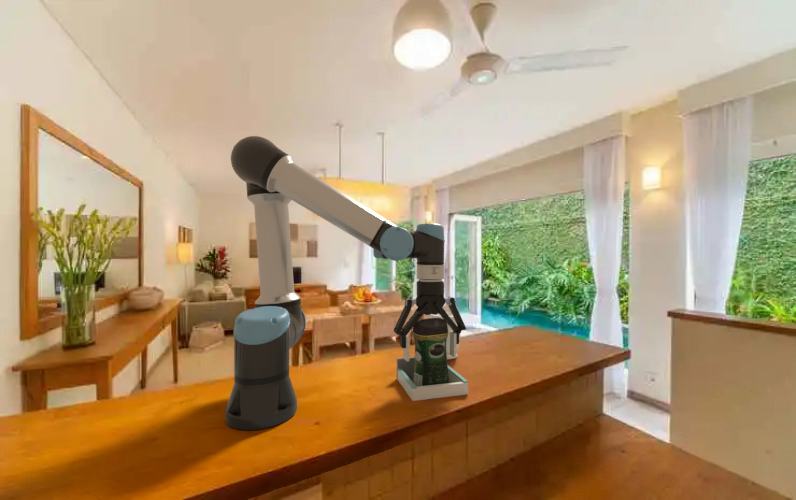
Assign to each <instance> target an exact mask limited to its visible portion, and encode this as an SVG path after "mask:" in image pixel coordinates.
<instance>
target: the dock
mask: <svg viewBox="0 0 796 500" xmlns="http://www.w3.org/2000/svg"><path fill="white" fill-rule="evenodd" d="M414 359H415V356H409V361H406V360H405V359H404V357H397V358H396V380H397V381H398V382H399V384H400V385H401V387H402V389H404V391H405V392H406V394H407V395H408V397H409V398H410V400H411V401H412V402H415V401H424V400H433V399H440V398H449V397H455V396H456V397H457V396H458V397H459V396H464V395H468V394H469V381H468V380H467V379H466V378H465V377H463V375H461V374H460V373H458V372H457V371H456V370H455V369H454V368H452V367H451V366H450V365H448V364H447V366H448V374H449V383H446V384H437V385H428V386H419V387H416V386H415V384H414V383H413V369H414Z"/></svg>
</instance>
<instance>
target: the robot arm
mask: <svg viewBox="0 0 796 500" xmlns="http://www.w3.org/2000/svg"><path fill="white" fill-rule="evenodd" d="M230 162H231V167H232V169H233V171H234V172H235V173H234V174H236V175H237V176H238V178H239V179H240V180H242V181H243V182H245V183H246V184H245V185H246V196H247V197H246V198H247V200H248V201H249V202H251V203H252V205H253V207H254V220H255V221H254V222H255V223H254V224H255V236H256V246H257V247H256V250H257V251H256V252H257V261H258V262H257V263H258V264H257V265H258V275H259V276H258V278H259V280H258V281H259V291H260V293H259V297H258V298H257V299H256V300H255V301H254V307H253V308H249V309H246V310H244V311H242V312H240V313H239V314H238V315H237V316H236V317H235V321H234V328H233V343H234V344H233V346H234V347H233V348H234V349H233V356H234V358H233V361H234V362H233V363H234V364H233V365H234V366H233V368H234V369H233V373H234V374H233V376H234V377H233V380H234V382H233V386H232V390H231V393H230V395H229V398H228V400H227V404H226V408H225V412H224V413H225V418H224V419H225V421H224V422H225V424H226V425H227V426H229V427H230V428H233V429H235V430H241V431H252V430H254V431H255V430H263V429H268V428H271V427H274V426H278V425H280V424H283V423H284V422H286V421H288V420H290V419H291V418H292V417H293V416H295V414H296V412H297V410H298V397H297V395H296V391H295V388H294V387H293V383H292V380H291V377H290V349H292V347H293V346H295V344H297V343H298V342H299V341H300V340H301V338H302V337H303V335H304V334H305V330H306V326H307V319H306V314H305V312H304V310H303V309H302V302H301V301H302V300H301V298H302V297H301V296H300V295H299V294H298V293H296V292H295V291H296V290H295V286H294V285H295V282H294V268H293V255H292V254H293V253H292V243H291V242H292V240H291V226H290V213H289V204H290V203H291V201H293V202H294V203H297V204H298V205H299V206H301V207H303V208H305V209H306V210H307V211H309V212H311V213H313V214H314V215H316V216H318V217H320V218H321V219H323V220H325V221H326V222H328V223H330V224H331V225H333V226H335V227H336V228H338V229H340V230H342V231H343V232H345V233H347V234H348V235H350V236H352V237H353V238H356V240H358V241H360V242H362V243H364V244H365V245H367V246H368V247H370V248H372V249H373V251H372V253H373V257H374V259H383V260H387V259H389V260H392V261H393V262H394V261H395V262H397V261H398V262H399V261H402V260H407V259H412V260H413V259H416V279H417V282H416V298H415V299H413V298H408V297H407V298H405V300H404V307H403V309H402V310H401V313H400V315H399V318H398V320H397V321H396V323H395V325H394V328H393V332H394V334H396V335H399V339H400V341H399V342H400V343H399V344H400V347H401V348H402V349H403V358H404V359H405V360H406V361H409V357H410V336H409V335H408V334H409V333H410V331H411V330H413V326H414V325H415V324H416V322H417V321H418V320H420V319H421V318H422V316H424V315H425V316H430V314H434V315H437V314H438V313H439V314H440V315H441V316H442V318H443V319H444V320H446V322H447V324H448V325H449V326H450V327H451V329H452V330H453V331H450V355H451V356H453V357H456V353H457V351H456V344H459V345H460V340H459V334H460V335H461V333H462V332H463V331H465V330H466V329H467V327H466V325H465V323H464V321H463V318H462V316H461V314H460V312H459V309H458V308H457V305H456V298H455V297H452V296H448V297H445V282H444V279H445V242H446V241H445V231H444V226H443V225H442V224H440V223H419V224H417V225H416V230H410V231H409V230H407V229H406V228H405V227H404V226H399V225H397V224H396V223H394V222H392V221H390V220H388V219H386V218H385V217H383V216H382V215H380V214H379V213H377V212H375V211H373V209H371V208H369V207H367V206H365V205H364V204H363V203H361V202H358V201H357V200H355V199H354V198H352V197H351V196H349V195H347V193H344V192H342V191H341V190H339V189H338V188H336V187H335V186H332V185H330V184H329V183H328V182H326V181H324V180H322V179H321V178H319V177H317V176H316V175H315V174H313V173H311V172H309V171H307V170H306V169H304V168H302V167H301V166H299V165H298V164H296V163H294V160H293V157H292V156H291V155H290V154H288V153H286V152H285V151H284V150H282V149H280V148H279V147H277V145H276V144H274V143H273V142H272V141H271V140H270V139H267V138H265V137H262V136H259V135H251V136H246V137H243V138H242V139H239V141H238V142H237V143H236V144H235V145H234V146H233V148H232V151H231V154H230ZM414 305H416V307H417V308H416V309H415V310H414V313H413V314H412V315H411V316H410V318H409V319H408V317H409V315H410V313H411V310H412V308H413V307H414ZM445 305H447V306H448V308H449V311H450V312H451V313H452V315H453V317H454V319H455V321H456V323H457V325H458V326H456V324H455V323H454V322H453V321H452V319H451V318H450V317H449V316H448V315H447V313H446V310H445V309H444V306H445ZM407 319H408V321H407ZM406 321H407V322H406ZM456 358H457V357H456Z"/></svg>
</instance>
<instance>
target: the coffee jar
mask: <svg viewBox="0 0 796 500" xmlns="http://www.w3.org/2000/svg"><path fill="white" fill-rule="evenodd" d="M411 333H412V336H413V339H414V357H415V359H414V369H413V379H412V382H413V383H414V384H415V386H416V387H419V386H428V385H437V384H446V383H450V381H449V374H448V366H449V365H448V359H447V355H446V341H447V337H448V326H447V322H446V320H444V319H441V318H432V317H428V318H422V319H421V318H419V320H418V321H417V322H416V324H415V325H414V326H413V327H412V332H411ZM447 365H448V366H447Z"/></svg>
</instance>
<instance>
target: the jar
mask: <svg viewBox="0 0 796 500" xmlns="http://www.w3.org/2000/svg"><path fill="white" fill-rule="evenodd" d="M445 311H446V310H445ZM446 313H447V315H448V316H449V317H450V318H451V319H452V321H453V322H454V323H455V324H456V326H458V325H457V323H456V321H455V319H454V317H453V315H452V313H451V311H446ZM429 316H430V318H441V319H443V318H442V316H441V315H440V314H439V313H438V314H437V315H434V314H430V315H429ZM447 326H448V337H447V341H446V355H447V360H455V359H456V358H457V357H458V353H457V351H458V350H459V345H460V343H459V344H456V357H453V356H451V355H450V331H453V330H452V329H451V327H450V326H449V325H448V324H447ZM460 339H461V333H460V334H459V341H460Z"/></svg>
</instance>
